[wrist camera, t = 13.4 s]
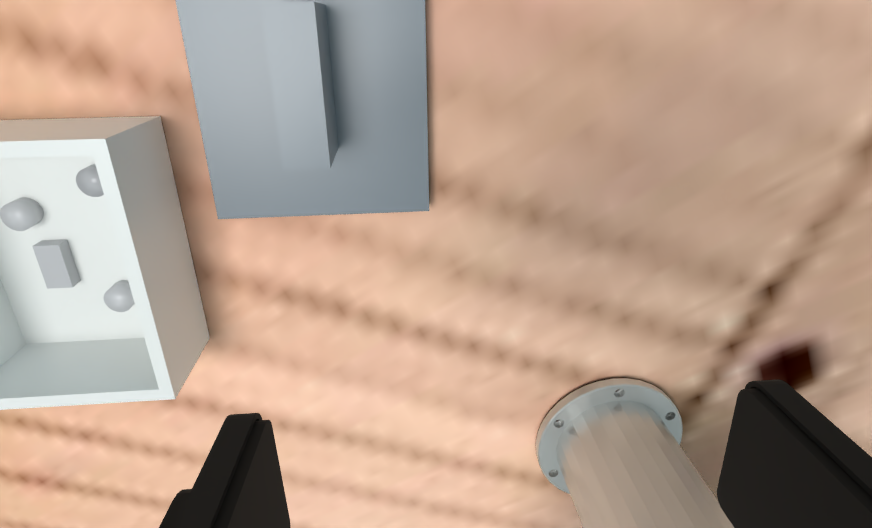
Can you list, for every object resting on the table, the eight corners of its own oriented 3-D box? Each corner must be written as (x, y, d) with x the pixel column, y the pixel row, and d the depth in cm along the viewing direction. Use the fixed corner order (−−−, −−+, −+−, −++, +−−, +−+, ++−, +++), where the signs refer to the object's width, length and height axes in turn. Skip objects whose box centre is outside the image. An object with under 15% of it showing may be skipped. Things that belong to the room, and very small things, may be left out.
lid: (427, 202, 37) (435, 239, 31) (226, 210, 36) (192, 249, 30) (421, -81, 30) (430, -108, 24) (171, -81, 29) (112, -109, 23)
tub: (209, 338, 39) (175, 399, 33) (25, 347, 38) (-48, 412, 32) (160, 116, 33) (105, 138, 26) (-65, 121, 32) (-179, 146, 25)
